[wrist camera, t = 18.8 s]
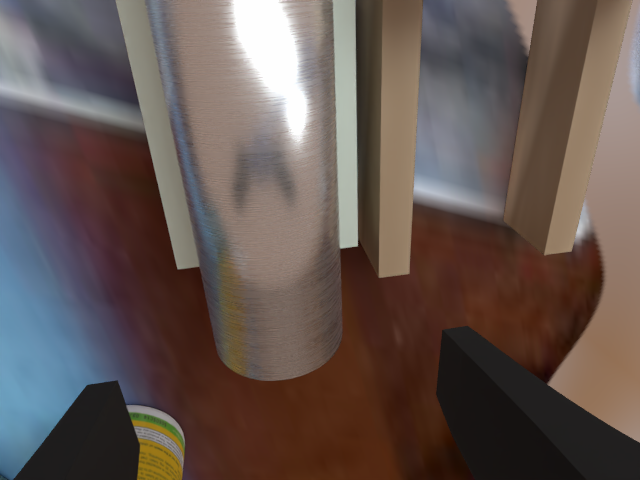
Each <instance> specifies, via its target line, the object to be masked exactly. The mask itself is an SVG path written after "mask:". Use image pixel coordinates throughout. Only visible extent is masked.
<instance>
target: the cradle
mask: <svg viewBox="0 0 640 480" xmlns="http://www.w3.org/2000/svg"><path fill="white" fill-rule="evenodd" d="M116 4H117V9H118V13H119V17H120V22H121V26H122V30H123V35H124V39H125V43H126V48H127V52H128V56H129V61H130V65H131V69H132V74H133V78H134V83H135V87H136V91H137V96H138V100H139V104H140V109H141V113H142V117H143V122H144V126H145V130H146V135H147V139H148V143H149V148H150V152H151V156H152V161H153V165H154V169H155V174H156V178H157V182H158V187H159V191H160V195H161V200H162V204H163V208H164V213H165V217H166V222H167V226H168V230H169V235H170V239H171V243H172V248H173V252H174V256H175V261H176V265H177V269H185V268H193V267H199V262H198V257H197V252H196V247H195V242H194V237H193V233H192V228H191V223H190V218H189V213H188V208H187V204H186V199H185V194H184V189H183V184H182V179H181V175H180V170H179V165H178V160H177V155H176V150H175V146H174V141H173V136H172V131H171V126H170V121H169V117H168V112H167V107H166V102H165V97H164V92H163V88H162V83H161V78H160V73H159V68H158V63H157V59H156V54H155V49H154V44H153V39H152V34H151V30H150V25H149V20H148V15H147V10H146V5H145V0H116ZM333 17H334V52H335V88H336V123H337V158H338V194H339V229H340V249H341V248H348V247H356V246H358V205H357V114H356V23H355V0H333Z"/></svg>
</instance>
